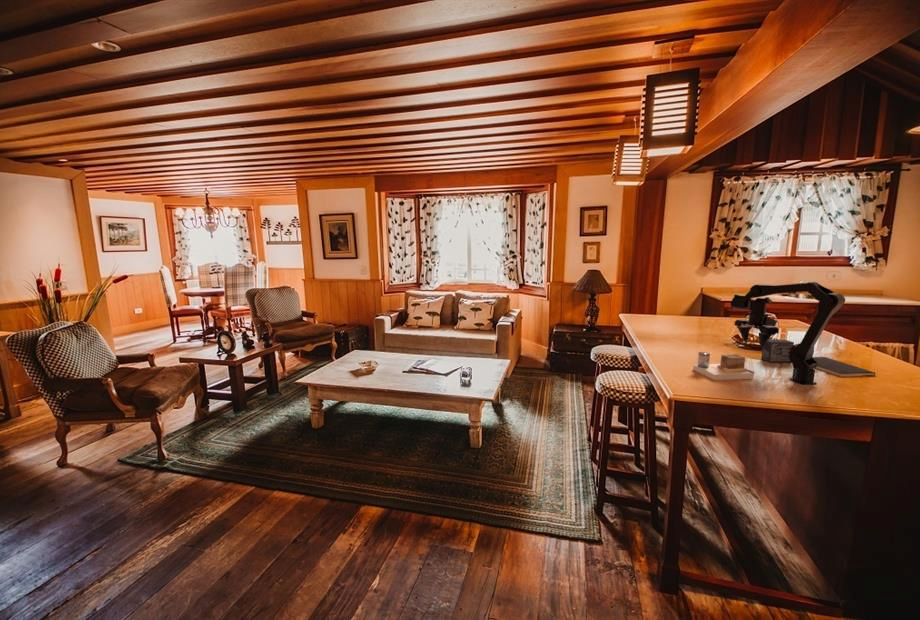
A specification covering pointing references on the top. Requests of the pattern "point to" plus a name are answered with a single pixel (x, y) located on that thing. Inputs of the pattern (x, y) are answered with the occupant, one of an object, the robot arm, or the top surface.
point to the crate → (732, 363)
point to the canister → (703, 359)
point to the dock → (723, 373)
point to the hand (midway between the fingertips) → (753, 344)
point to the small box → (777, 351)
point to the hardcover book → (840, 368)
